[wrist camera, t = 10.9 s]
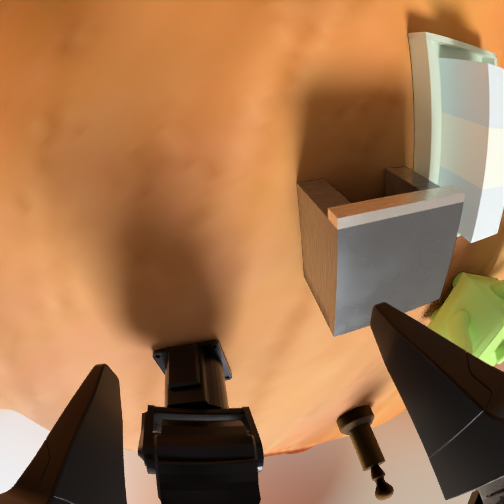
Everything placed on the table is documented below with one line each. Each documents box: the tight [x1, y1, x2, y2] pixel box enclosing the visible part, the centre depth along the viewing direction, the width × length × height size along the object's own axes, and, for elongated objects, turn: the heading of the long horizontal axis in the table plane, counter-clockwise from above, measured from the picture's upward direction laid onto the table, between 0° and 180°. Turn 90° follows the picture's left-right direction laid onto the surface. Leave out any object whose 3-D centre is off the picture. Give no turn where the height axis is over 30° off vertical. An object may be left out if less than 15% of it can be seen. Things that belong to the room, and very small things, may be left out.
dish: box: [408, 32, 497, 237], centre depth 18 cm, size 17×9×2 cm, turn 9°
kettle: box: [428, 272, 504, 366], centre depth 26 cm, size 15×14×11 cm
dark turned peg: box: [337, 406, 394, 500], centre depth 36 cm, size 7×6×18 cm
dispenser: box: [297, 167, 465, 337], centre depth 18 cm, size 9×9×7 cm
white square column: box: [438, 58, 504, 243], centre depth 16 cm, size 14×4×5 cm, turn 9°
